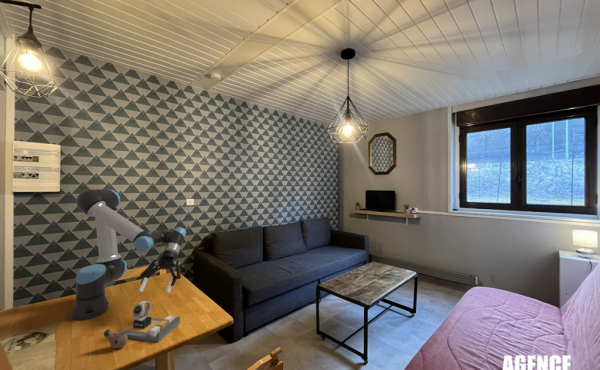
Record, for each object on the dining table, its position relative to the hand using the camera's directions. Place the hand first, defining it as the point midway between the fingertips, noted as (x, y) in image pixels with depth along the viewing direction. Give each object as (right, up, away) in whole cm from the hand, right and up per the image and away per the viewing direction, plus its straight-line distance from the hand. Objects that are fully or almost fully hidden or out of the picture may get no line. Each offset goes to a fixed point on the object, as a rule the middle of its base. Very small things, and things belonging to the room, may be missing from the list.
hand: (154, 291), depth 120 cm
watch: (-1, -13, -7) cm, 15 cm away
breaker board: (+3, -14, -8) cm, 17 cm away
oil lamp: (-4, -14, -20) cm, 25 cm away
